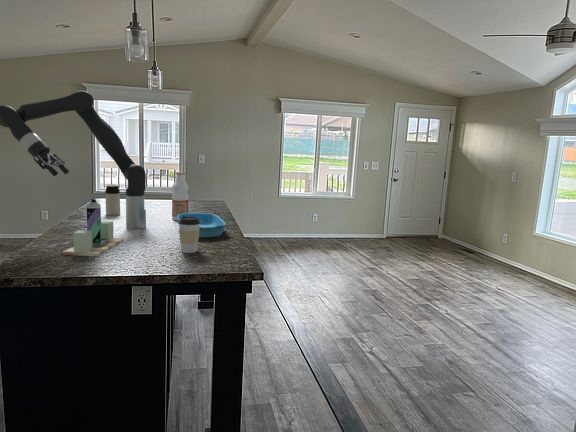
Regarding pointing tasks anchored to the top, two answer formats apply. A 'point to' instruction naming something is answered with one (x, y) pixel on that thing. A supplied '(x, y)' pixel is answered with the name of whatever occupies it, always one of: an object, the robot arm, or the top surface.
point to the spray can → (94, 220)
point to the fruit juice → (179, 196)
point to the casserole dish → (207, 224)
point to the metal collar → (100, 243)
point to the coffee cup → (189, 234)
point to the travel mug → (112, 199)
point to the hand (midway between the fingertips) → (62, 173)
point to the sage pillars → (85, 237)
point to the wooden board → (94, 249)
